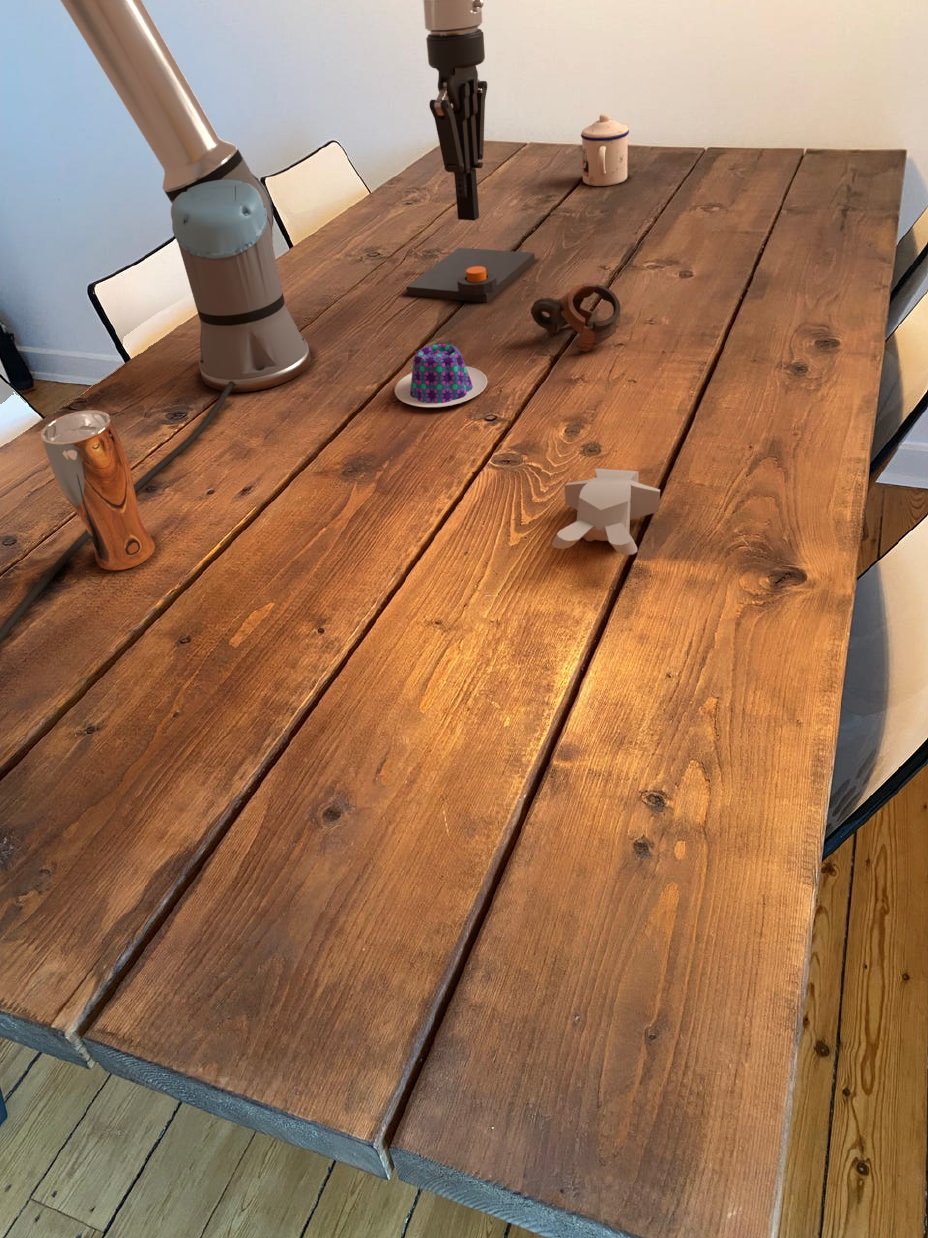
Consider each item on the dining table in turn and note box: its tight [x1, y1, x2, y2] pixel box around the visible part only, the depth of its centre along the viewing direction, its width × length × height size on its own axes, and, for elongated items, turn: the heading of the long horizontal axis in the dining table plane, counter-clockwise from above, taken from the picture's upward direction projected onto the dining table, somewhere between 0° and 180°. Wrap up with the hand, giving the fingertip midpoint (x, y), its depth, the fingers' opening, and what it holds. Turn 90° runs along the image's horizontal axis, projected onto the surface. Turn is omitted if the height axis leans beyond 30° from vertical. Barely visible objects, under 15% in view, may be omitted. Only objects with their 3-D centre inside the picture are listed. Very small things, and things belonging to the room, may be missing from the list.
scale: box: [406, 247, 536, 304], centre depth 151 cm, size 19×14×3 cm
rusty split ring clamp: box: [530, 283, 621, 353], centre depth 128 cm, size 12×10×8 cm
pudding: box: [394, 343, 488, 408], centre depth 120 cm, size 12×12×5 cm
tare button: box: [466, 266, 487, 282], centre depth 143 cm, size 3×3×2 cm
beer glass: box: [39, 409, 156, 572], centre depth 95 cm, size 7×7×15 cm
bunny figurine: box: [551, 468, 661, 556], centre depth 93 cm, size 10×5×15 cm
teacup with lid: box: [580, 113, 630, 187], centre depth 181 cm, size 12×9×12 cm
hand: (468, 218), depth 138 cm, fingers closed
